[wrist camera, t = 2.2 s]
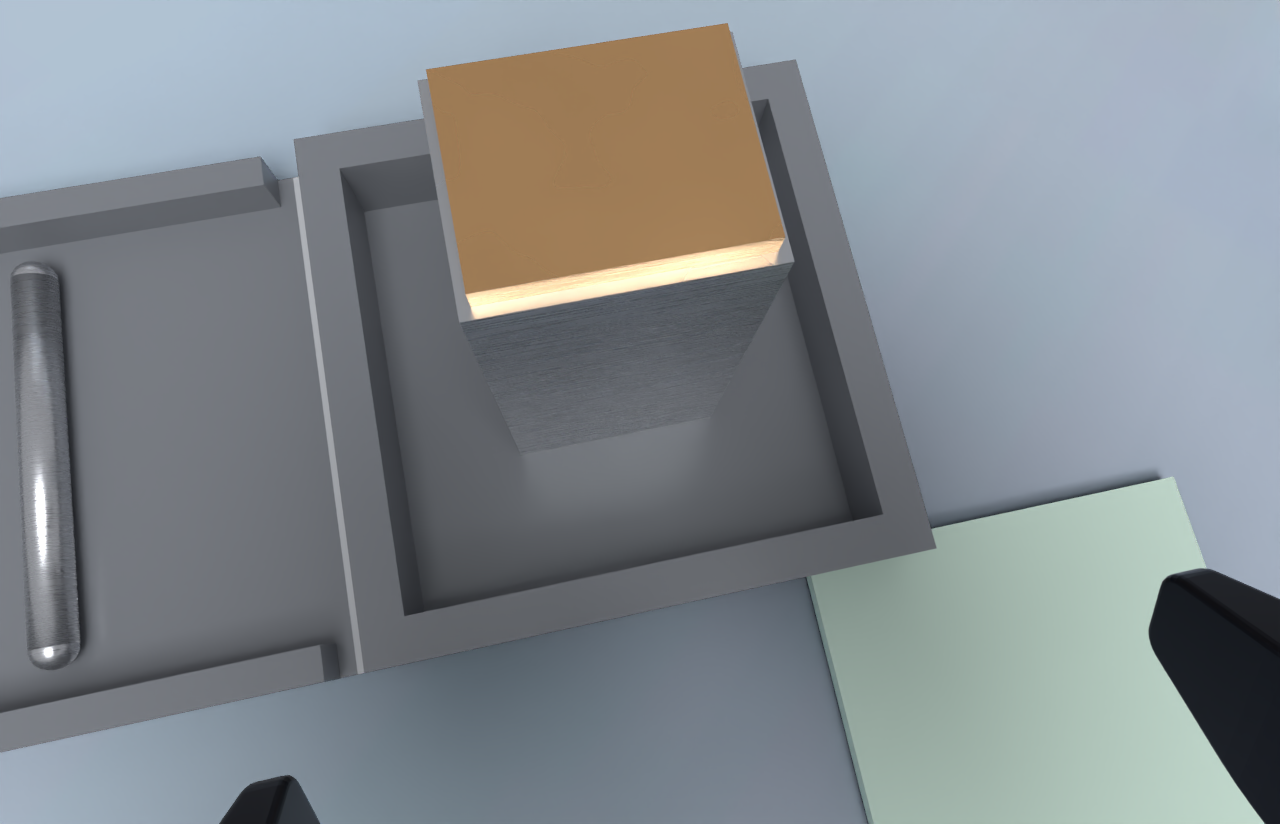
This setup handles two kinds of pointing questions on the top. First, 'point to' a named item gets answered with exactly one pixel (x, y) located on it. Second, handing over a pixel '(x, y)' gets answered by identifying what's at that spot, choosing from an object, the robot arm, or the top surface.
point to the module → (606, 229)
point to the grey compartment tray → (397, 437)
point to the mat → (1024, 671)
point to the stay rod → (44, 469)
